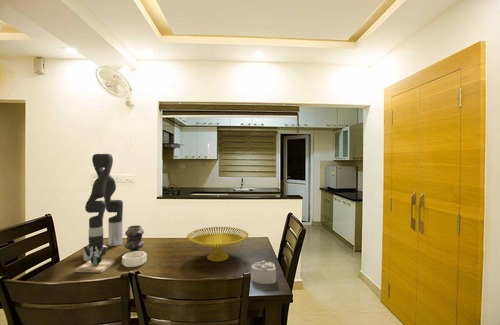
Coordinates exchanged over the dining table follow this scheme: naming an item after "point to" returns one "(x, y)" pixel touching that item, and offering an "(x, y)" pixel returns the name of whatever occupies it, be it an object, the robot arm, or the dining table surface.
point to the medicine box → (88, 258)
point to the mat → (101, 271)
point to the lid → (95, 265)
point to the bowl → (134, 259)
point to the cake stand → (217, 240)
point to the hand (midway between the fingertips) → (96, 262)
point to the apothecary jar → (134, 238)
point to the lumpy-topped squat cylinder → (263, 272)
